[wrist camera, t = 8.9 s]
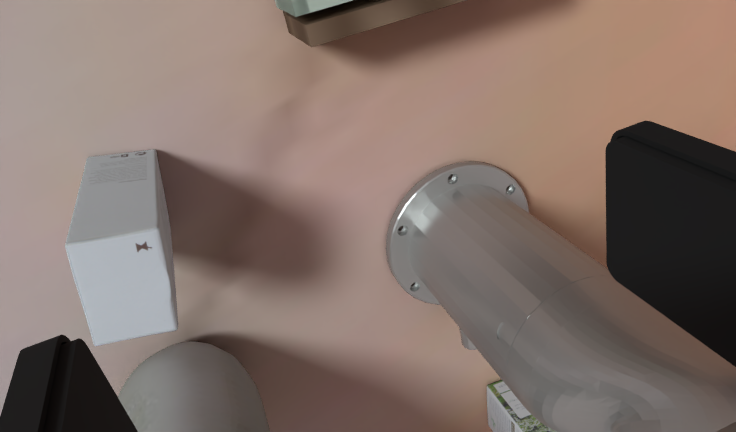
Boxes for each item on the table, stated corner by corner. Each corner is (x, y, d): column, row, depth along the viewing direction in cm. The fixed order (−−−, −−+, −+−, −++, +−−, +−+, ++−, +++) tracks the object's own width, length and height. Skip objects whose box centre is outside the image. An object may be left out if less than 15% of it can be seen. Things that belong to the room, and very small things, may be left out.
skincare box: (84, 155, 36) (61, 241, 26) (156, 147, 37) (161, 225, 27) (105, 242, 39) (92, 350, 29) (172, 231, 40) (182, 331, 30)
